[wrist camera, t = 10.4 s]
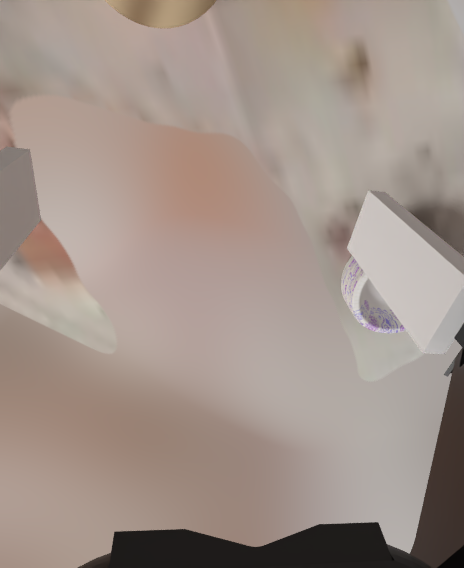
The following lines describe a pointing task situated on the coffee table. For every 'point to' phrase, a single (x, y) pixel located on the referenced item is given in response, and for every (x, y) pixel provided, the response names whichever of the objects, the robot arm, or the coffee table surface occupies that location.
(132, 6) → the lid
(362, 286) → the paper bowls
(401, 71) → the coffee table surface
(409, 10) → the coffee table surface
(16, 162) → the robot arm
